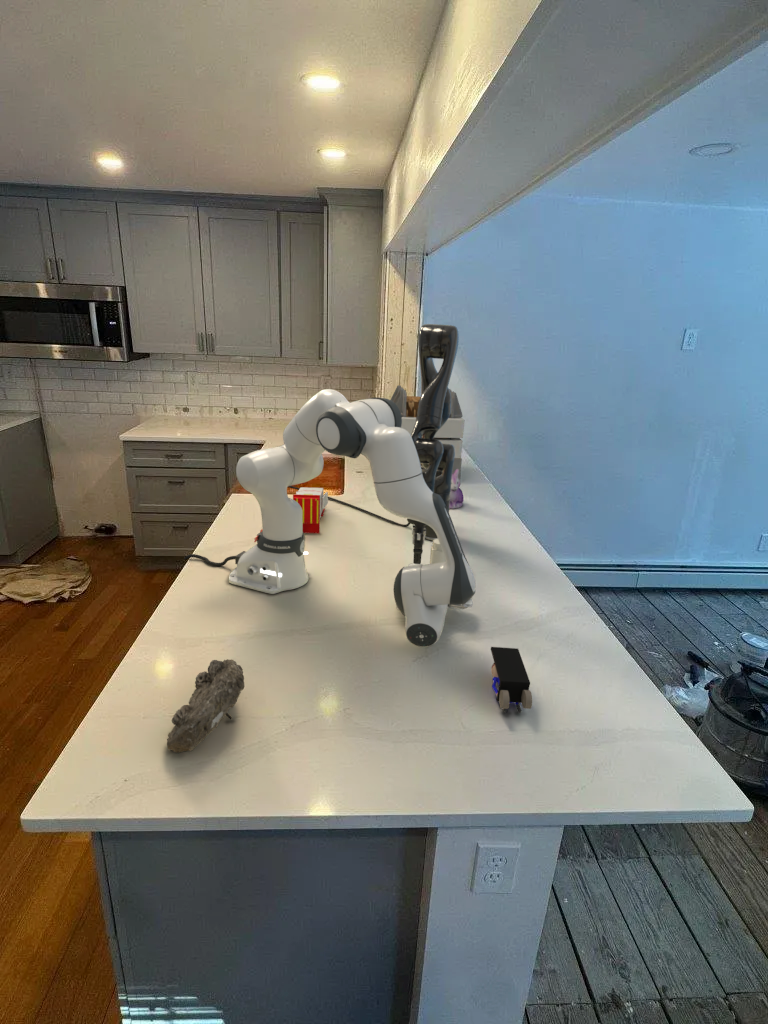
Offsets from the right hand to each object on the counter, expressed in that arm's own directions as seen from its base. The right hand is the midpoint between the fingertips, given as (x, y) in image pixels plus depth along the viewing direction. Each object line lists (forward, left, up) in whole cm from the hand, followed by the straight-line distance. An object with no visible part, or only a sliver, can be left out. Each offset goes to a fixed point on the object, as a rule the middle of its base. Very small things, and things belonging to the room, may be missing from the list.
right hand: (417, 557), depth 169 cm
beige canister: (+13, -11, -5) cm, 18 cm away
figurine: (-22, +63, -5) cm, 67 cm away
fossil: (+4, -79, -5) cm, 79 cm away
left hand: (+13, -10, +1) cm, 16 cm away
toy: (-54, +12, -5) cm, 55 cm away
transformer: (-58, +94, -5) cm, 111 cm away
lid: (0, 0, -3) cm, 3 cm away
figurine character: (+46, -37, -5) cm, 59 cm away
